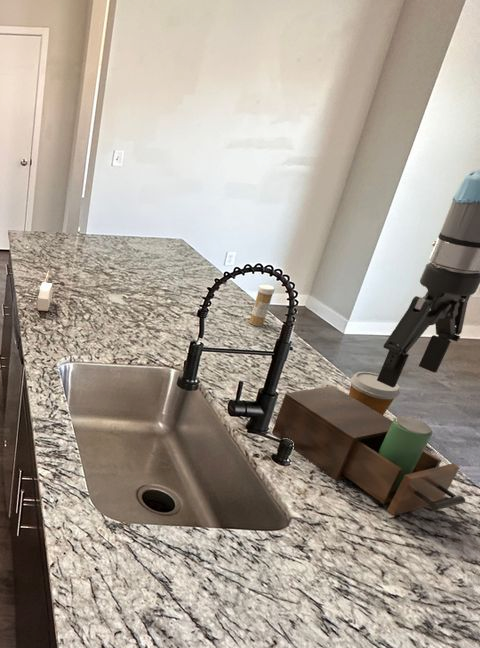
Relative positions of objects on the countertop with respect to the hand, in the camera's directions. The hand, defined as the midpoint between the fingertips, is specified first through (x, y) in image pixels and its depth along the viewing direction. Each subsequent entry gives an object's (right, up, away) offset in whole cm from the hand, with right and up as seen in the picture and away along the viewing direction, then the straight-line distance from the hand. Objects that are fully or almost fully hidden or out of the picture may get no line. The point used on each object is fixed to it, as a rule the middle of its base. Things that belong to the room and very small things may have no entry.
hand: (407, 376), depth 99 cm
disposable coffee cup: (+13, -14, +30) cm, 36 cm away
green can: (+2, -22, +8) cm, 23 cm away
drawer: (+2, -23, +8) cm, 25 cm away
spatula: (-53, +23, +84) cm, 102 cm away
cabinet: (-2, -18, +20) cm, 27 cm away
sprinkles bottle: (+16, +10, +81) cm, 84 cm away
